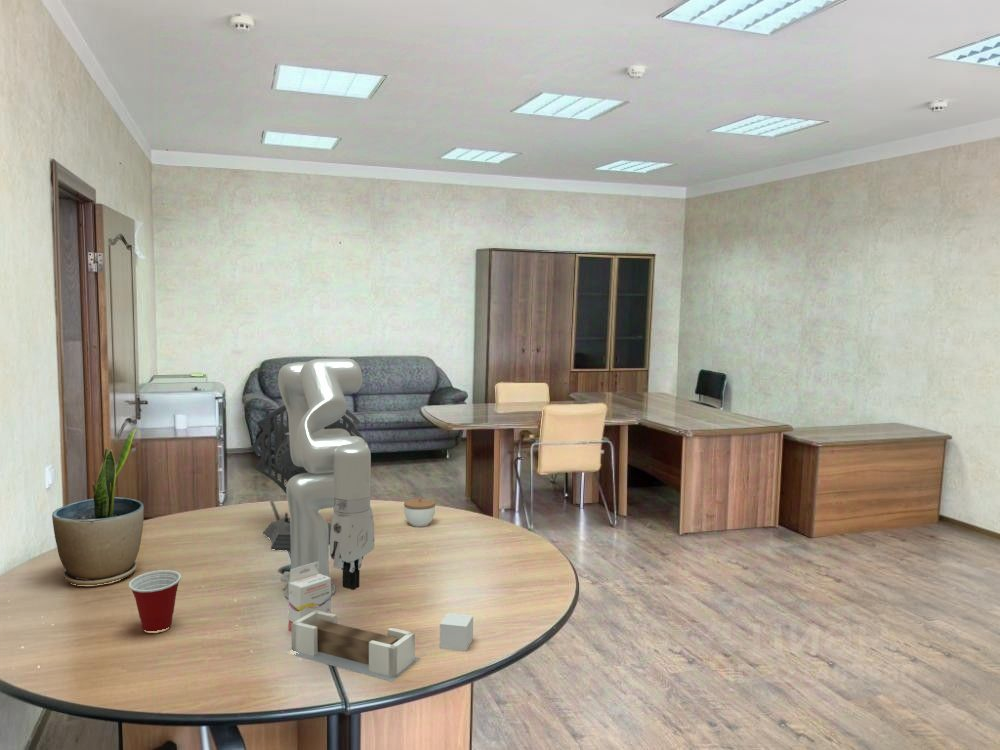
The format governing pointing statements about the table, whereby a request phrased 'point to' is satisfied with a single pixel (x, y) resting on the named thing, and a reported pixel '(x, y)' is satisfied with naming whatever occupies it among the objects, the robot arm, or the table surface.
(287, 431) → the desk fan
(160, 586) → the plastic cup
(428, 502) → the lidded jar
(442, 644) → the gray cube
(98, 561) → the potted plant
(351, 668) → the mat
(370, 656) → the end cap
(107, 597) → the table surface
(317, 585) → the ink cartridge box
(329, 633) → the brown wooden block
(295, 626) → the end cap
